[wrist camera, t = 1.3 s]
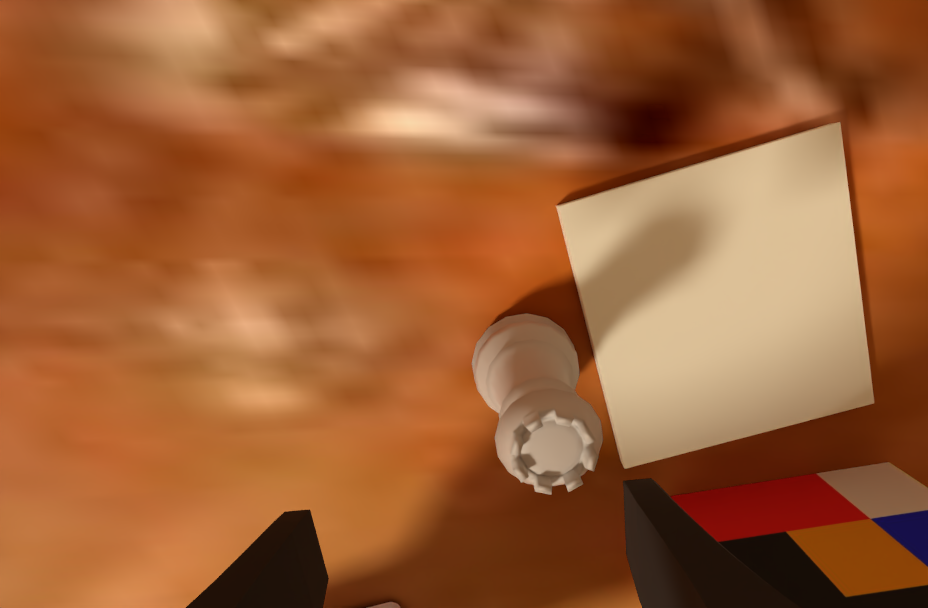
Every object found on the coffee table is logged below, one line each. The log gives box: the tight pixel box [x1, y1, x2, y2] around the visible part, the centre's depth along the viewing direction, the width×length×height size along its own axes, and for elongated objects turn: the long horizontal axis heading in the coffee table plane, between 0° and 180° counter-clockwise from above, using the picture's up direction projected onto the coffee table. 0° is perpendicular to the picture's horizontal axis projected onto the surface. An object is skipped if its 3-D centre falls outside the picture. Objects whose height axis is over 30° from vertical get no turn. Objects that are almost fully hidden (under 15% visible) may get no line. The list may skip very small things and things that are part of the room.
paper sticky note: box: [556, 122, 874, 469], centre depth 22 cm, size 11×12×1 cm
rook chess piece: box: [472, 313, 603, 495], centre depth 19 cm, size 4×4×8 cm
